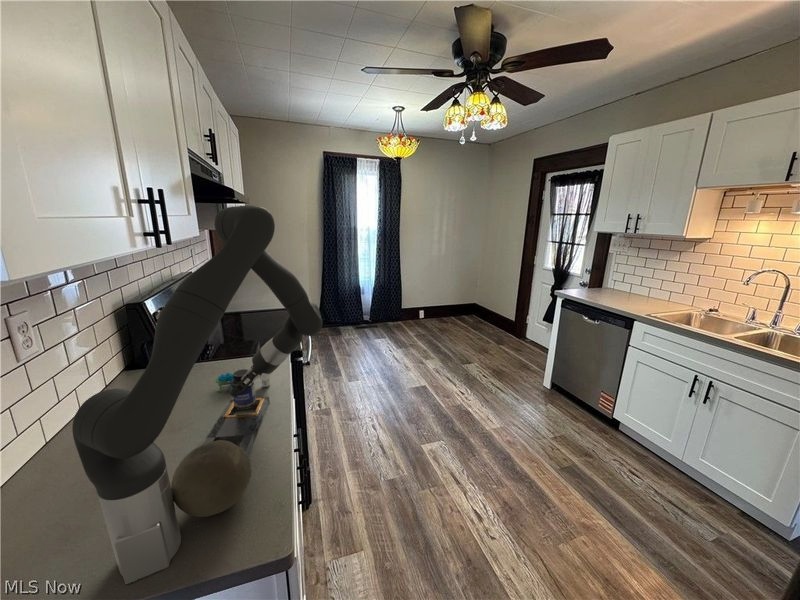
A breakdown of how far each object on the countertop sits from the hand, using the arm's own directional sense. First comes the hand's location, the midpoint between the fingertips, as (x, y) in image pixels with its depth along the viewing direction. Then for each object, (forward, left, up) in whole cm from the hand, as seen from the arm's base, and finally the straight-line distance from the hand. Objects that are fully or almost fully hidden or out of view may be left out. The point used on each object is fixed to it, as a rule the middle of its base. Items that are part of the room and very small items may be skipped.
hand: (237, 389), depth 98 cm
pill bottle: (-1, -2, -5) cm, 6 cm away
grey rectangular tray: (-9, +2, -9) cm, 13 cm away
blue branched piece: (+19, +1, -9) cm, 21 cm away
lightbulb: (+14, -9, -9) cm, 19 cm away
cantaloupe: (-34, +7, -9) cm, 36 cm away
